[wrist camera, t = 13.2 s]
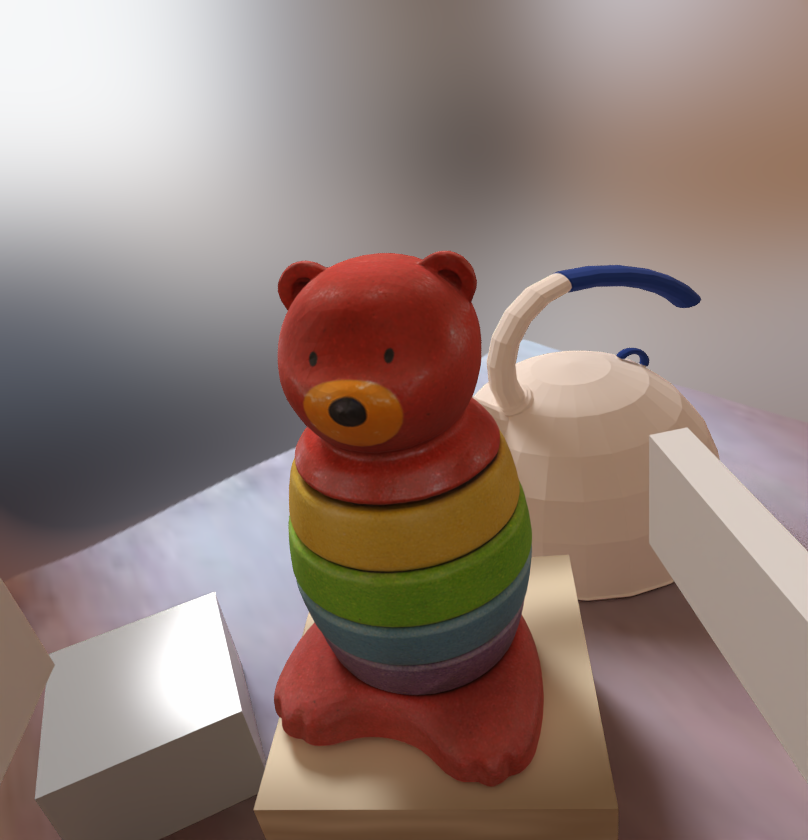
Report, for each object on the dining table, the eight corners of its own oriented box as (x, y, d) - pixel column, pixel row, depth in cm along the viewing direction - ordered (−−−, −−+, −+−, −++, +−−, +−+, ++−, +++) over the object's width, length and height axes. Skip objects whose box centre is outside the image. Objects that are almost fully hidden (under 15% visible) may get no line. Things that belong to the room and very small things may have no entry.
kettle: (396, 486, 56) (357, 276, 47) (605, 412, 61) (604, 212, 53) (523, 654, 39) (498, 373, 30) (796, 531, 44) (840, 263, 36)
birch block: (617, 928, 27) (618, 809, 23) (300, 921, 28) (253, 810, 25) (573, 664, 38) (568, 554, 34) (348, 671, 40) (321, 568, 36)
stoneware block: (272, 789, 34) (241, 710, 31) (87, 876, 31) (34, 799, 29) (241, 664, 41) (214, 591, 38) (90, 726, 39) (48, 654, 36)
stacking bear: (258, 736, 27) (119, 317, 18) (353, 567, 35) (287, 223, 27) (529, 803, 23) (513, 321, 15) (564, 597, 32) (566, 212, 23)
